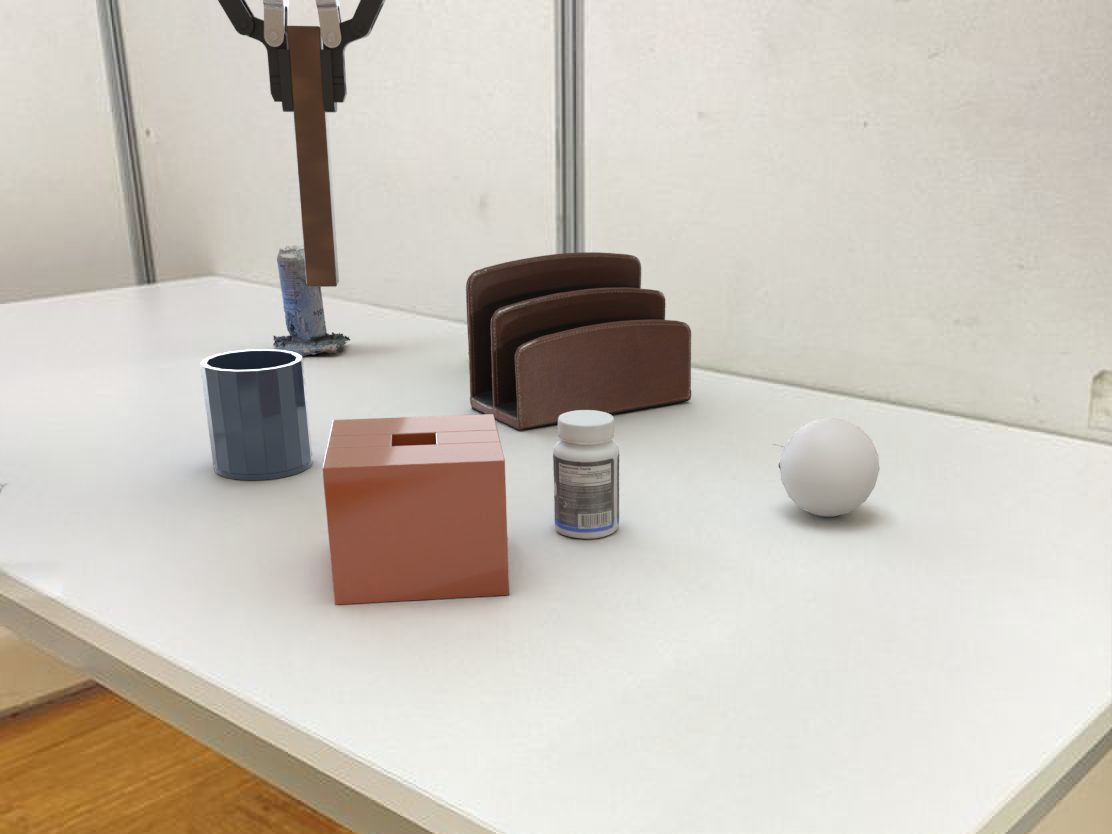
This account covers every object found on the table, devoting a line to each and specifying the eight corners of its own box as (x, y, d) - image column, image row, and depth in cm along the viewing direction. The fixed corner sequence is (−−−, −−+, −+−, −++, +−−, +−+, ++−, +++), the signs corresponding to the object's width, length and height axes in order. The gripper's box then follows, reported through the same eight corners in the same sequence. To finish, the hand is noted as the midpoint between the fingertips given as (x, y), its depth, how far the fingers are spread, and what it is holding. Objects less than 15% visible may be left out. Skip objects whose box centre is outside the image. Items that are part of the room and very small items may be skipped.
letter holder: (468, 408, 123) (462, 261, 117) (635, 382, 133) (637, 244, 127) (518, 432, 115) (514, 275, 110) (692, 402, 125) (696, 257, 119)
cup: (208, 482, 102) (193, 372, 98) (221, 453, 109) (208, 350, 105) (308, 478, 103) (298, 369, 99) (315, 450, 110) (305, 347, 106)
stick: (306, 287, 84) (286, 25, 78) (309, 282, 86) (290, 26, 80) (336, 286, 85) (319, 26, 78) (339, 282, 86) (322, 27, 80)
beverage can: (273, 360, 142) (261, 251, 138) (273, 346, 149) (262, 242, 144) (354, 356, 144) (345, 248, 140) (350, 342, 151) (342, 239, 146)
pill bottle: (570, 514, 95) (569, 405, 91) (628, 522, 93) (629, 411, 90) (543, 534, 91) (541, 421, 87) (604, 544, 89) (604, 428, 86)
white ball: (895, 522, 93) (905, 426, 90) (808, 536, 90) (816, 437, 87) (823, 483, 101) (830, 394, 98) (742, 494, 99) (746, 403, 96)
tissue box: (334, 604, 79) (322, 468, 75) (343, 543, 89) (332, 419, 85) (509, 595, 80) (504, 460, 77) (498, 535, 90) (493, 413, 87)
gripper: (407, -186, 78) (419, 111, 85) (180, -195, 77) (210, 108, 84) (403, -210, 72) (416, 115, 78) (154, -220, 70) (189, 112, 77)
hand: (309, 110), depth 81 cm, fingers closed on stick, 2 cm apart
